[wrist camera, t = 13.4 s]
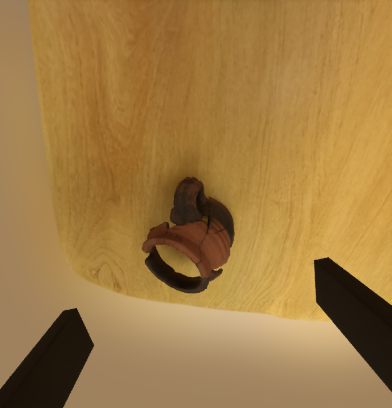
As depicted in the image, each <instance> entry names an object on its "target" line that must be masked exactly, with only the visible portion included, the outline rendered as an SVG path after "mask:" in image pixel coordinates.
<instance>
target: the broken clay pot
mask: <svg viewBox="0 0 392 408" xmlns="http://www.w3.org/2000/svg"><path fill="white" fill-rule="evenodd" d="M203 216H208V225H207V224H206V222H205V221H203V220H202V219H203ZM170 220H171V222H173V223H174V224H176V225H175V226H173V227H171V228H169V223H168V222H164V223H163V224H160V225H159V226H156V227H153V228H152V229H150V232H149V234H148V236H147V240H146V241H145V242H144V244H143V247H142V250H143V251H144V252H145V253H148V252H149V253H150V255H149V256H148V257H147V258H146V260H145V264H146V265H147V267H148V268H149V269H150V271H151V272H152V273H153V274H154V275H155V276H156V277H157V278H158V279H159V280H161V281H162V282H164V283H165V284H167V285H168V286H170V287H172V288H174V289H176V290H178V291H181V292H184V293H200V292H202V291H204V290H205V289H207V286H208V284H209V282H210V281H212V280H214V279H215V278H216V277H218V276H219V275H220V274H221V273H222V271H223V269H219V270H218V271H214V270H213V269H215V268H218V267H219V266H222V265H223V264H225V263H226V262H227V260H228V258H229V256H230V247H232V244H233V241H234V235H235V233H234V223H233V218H232V216H231V214H230V212H229V211H228V209H227V208H226V207H225V206H224V205H223V204H222V203H220V202H218V201H217V200H215V199H213V198H209V200H208V199H207V198H206V196H205V194H204V187H203V183H202V182H201V181H199V180H198V179H196V178H193V177H192V178H190V177H186V178H185V179H184V180H183V181H181V182H180V183H179V185H178V186H177V188H176V191H175V195H174V207H173V208H172V209H171V213H170ZM155 245H168V246H170V247H173V248H175V249H177V250H179V251H180V252H182V253H183V254H185V255H186V256H187V257H189V258H190V259H191V260H192V261H193V262H194V263H195V264H196V266H197V268H198V269H199V272H200V274H201V277H202V278H201V277H200V276H198V277H187V276H185V275H183V274H181V273H178V272H175V271H174V269H173V268H172V267H170V266H169V265H168V264H166V263H165V262H164V261H163V260H162V258H161V257H160V255H159V253H158V251H157V249H156V246H155Z"/></svg>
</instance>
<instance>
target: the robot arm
mask: <svg viewBox="0 0 392 408" xmlns="http://www.w3.org/2000/svg"><path fill="white" fill-rule="evenodd" d="M314 269H315V288H316V302H317V304H318V305H319V306H320V307H321V308H322V310H323V311H324V312H325V313H326V314H327V316H328V317H329V318H330V319H331V320H332V322H333V323H334V324H335V325H336V326H337V327H338V329H339V330H340V331H341V332H342V333H343V335H344V336H345V337H346V338H347V339H348V341H349V342H350V343H351V344H352V345H353V347H354V348H355V349H356V350H357V351H358V352H359V354H360V355H361V356H362V357H363V358H364V360H365V361H366V362H367V363H368V364H369V366H370V367H371V368H372V369H373V370H374V371H375V373H376V374H377V375H378V376H379V377H380V379H381V380H382V381H383V382H384V383H385V385H386V386H387V387H388V388H389V389H390V390H391V392H392V305H390V304H389V303H388V302H386V301H385V300H384V299H383V298H381V297H380V296H379V295H377V294H376V293H375V292H373V291H372V290H371V289H369V288H368V287H367V286H365V285H364V284H363V283H361V282H360V281H359V280H358V279H356V278H355V277H354V276H352V275H351V274H350V273H348V272H347V271H346V270H344V269H343V268H342V267H340V266H339V265H338V264H336V263H335V262H334V261H333V260H331V259H330V258H329V257H328V258H323V259H318V260H314ZM93 347H94V344H93V342H92V340H91V338H90V336H89V333H88V332H87V329H86V327H85V325H84V323H83V321H82V318H81V317H80V314H79V312H78V310H77V308H75V309H70V310H65V311H63V312H62V313H61V314H60V316H59V317H58V318H57V319H56V321H55V322H54V323H53V324H52V325H51V327H50V328H49V329H48V331H47V332H46V333H45V334H44V335H43V337H42V338H41V339H40V341H39V342H38V343H37V344H36V345H35V347H34V348H33V349H32V350H31V352H30V353H29V354H28V355H27V357H26V358H25V359H24V360H23V361H22V363H21V364H20V365H19V366H18V368H17V369H16V370H15V372H14V373H13V374H12V375H11V376H10V378H9V379H8V380H7V381H6V383H5V384H4V385H3V386H2V388H1V389H0V408H63V407H64V405H65V403H66V401H67V399H68V397H69V395H70V393H71V391H72V389H73V387H74V385H75V383H76V381H77V379H78V377H79V375H80V373H81V371H82V369H83V367H84V365H85V363H86V361H87V359H88V356H89V355H90V353H91V351H92V349H93Z"/></svg>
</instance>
